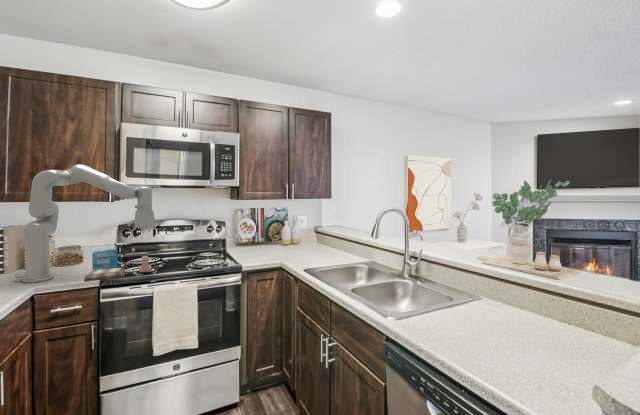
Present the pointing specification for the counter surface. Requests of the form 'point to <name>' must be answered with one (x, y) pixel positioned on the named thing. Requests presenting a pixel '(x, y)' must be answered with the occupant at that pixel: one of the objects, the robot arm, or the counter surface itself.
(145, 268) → the stub
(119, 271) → the ticket pad
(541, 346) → the counter surface
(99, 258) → the data package
